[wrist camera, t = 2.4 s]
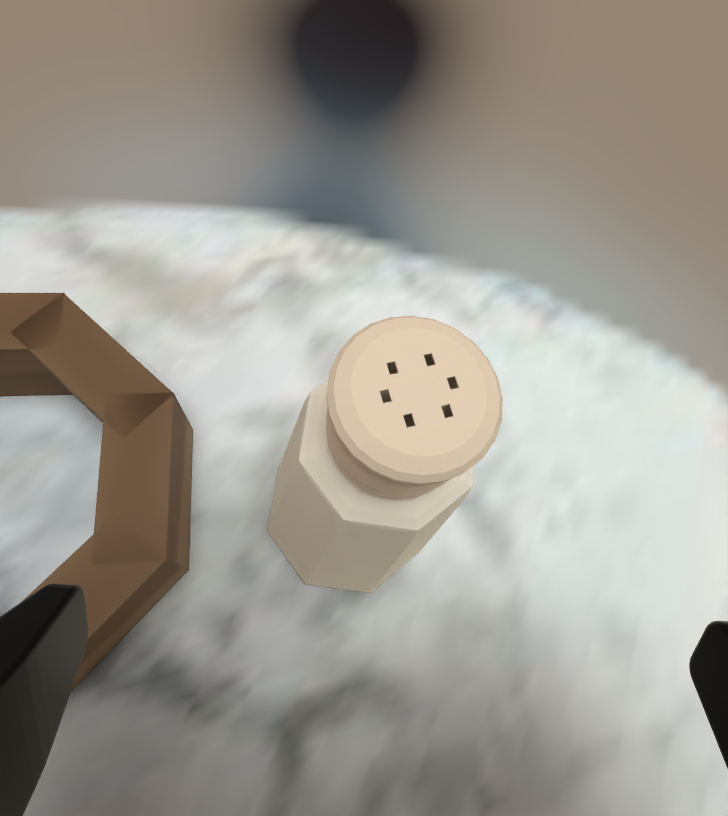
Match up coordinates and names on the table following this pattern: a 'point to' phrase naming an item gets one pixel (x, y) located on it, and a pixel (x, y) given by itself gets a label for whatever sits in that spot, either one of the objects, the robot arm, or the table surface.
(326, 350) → the table surface
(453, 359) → the pepper shaker
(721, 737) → the robot arm
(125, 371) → the ring holder
